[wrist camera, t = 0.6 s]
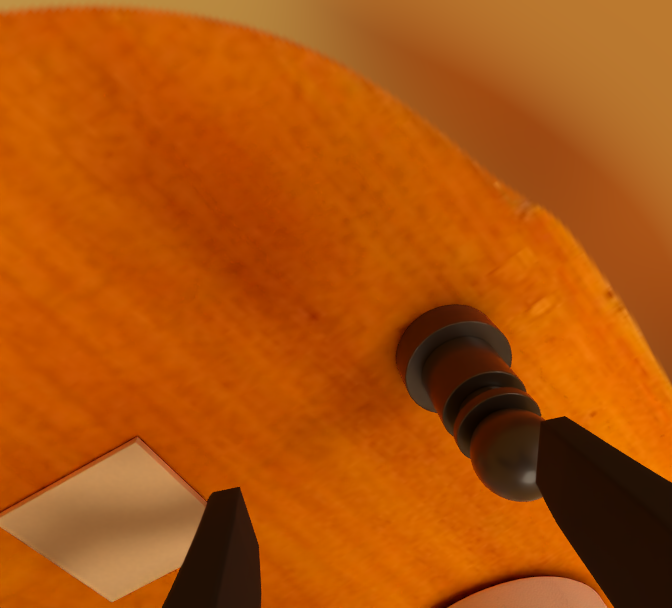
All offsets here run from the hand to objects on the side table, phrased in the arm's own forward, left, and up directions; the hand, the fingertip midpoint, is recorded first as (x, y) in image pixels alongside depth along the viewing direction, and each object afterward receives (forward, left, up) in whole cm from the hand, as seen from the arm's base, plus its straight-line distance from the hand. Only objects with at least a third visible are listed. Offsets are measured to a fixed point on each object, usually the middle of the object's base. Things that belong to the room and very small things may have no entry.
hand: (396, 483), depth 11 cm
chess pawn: (-2, -5, -10) cm, 11 cm away
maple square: (-12, +10, -10) cm, 18 cm away
